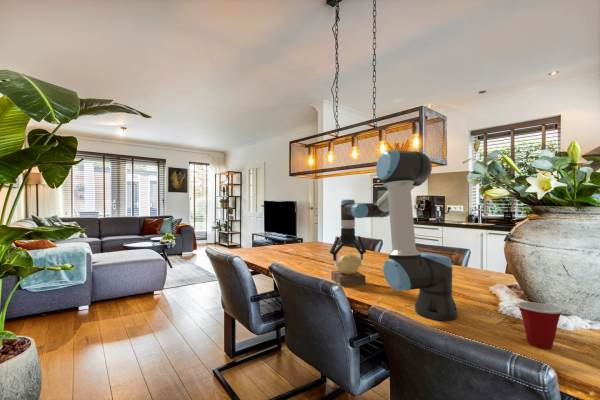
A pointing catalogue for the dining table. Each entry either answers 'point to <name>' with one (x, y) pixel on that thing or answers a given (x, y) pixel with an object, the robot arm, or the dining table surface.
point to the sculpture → (348, 264)
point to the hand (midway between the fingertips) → (348, 266)
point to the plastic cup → (540, 323)
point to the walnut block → (348, 278)
